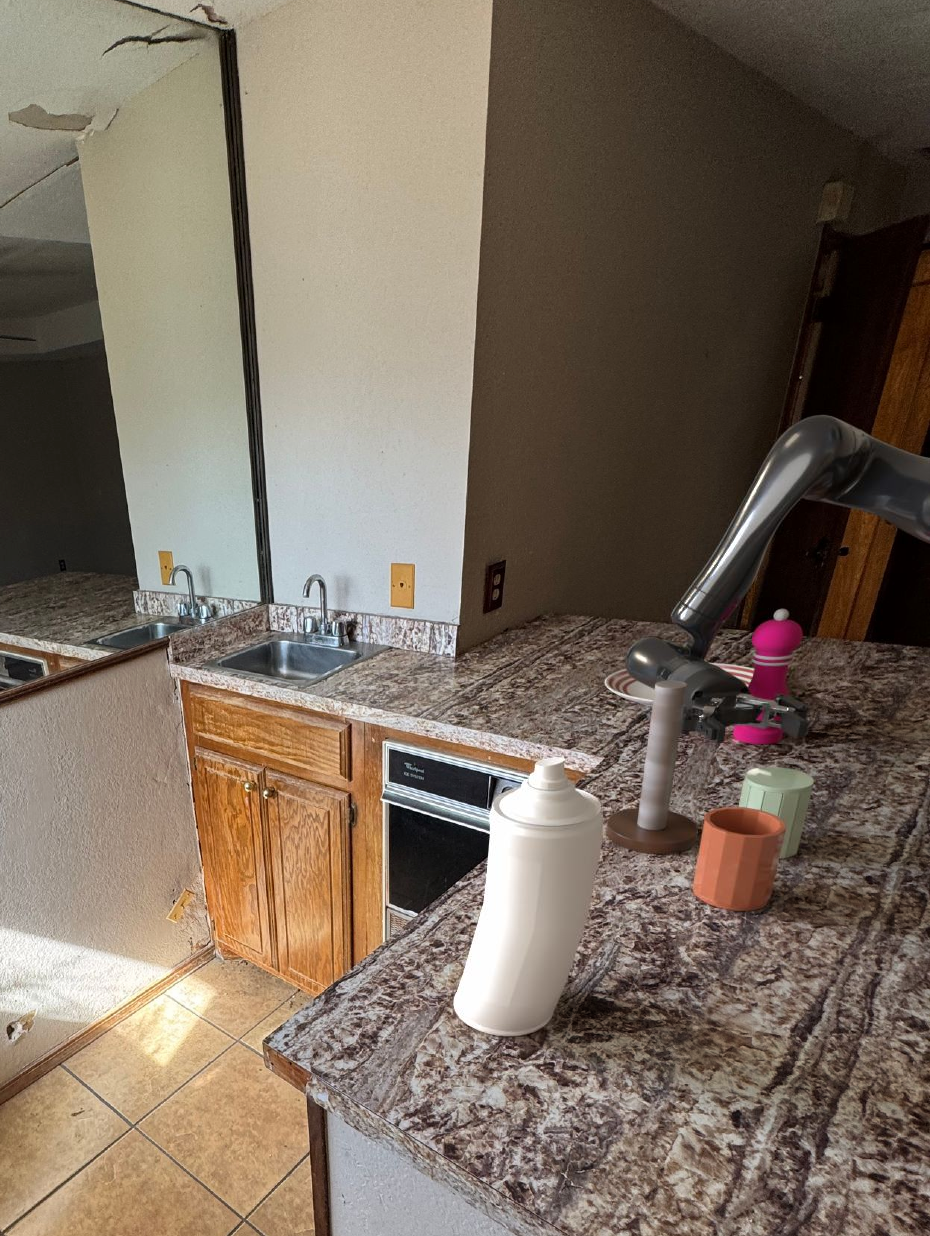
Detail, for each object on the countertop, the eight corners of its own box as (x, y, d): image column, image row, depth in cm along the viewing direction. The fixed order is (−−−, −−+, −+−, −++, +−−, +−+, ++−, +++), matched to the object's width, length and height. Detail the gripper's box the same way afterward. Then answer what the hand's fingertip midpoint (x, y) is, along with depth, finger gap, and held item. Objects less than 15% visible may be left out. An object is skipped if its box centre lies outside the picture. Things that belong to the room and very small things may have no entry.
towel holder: (647, 811, 100) (666, 667, 91) (715, 839, 91) (744, 683, 83) (588, 830, 98) (603, 684, 89) (653, 862, 89) (676, 703, 80)
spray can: (489, 952, 78) (497, 730, 67) (596, 986, 71) (625, 745, 60) (439, 1015, 71) (438, 777, 60) (553, 1060, 64) (577, 800, 53)
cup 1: (758, 828, 92) (772, 762, 89) (810, 849, 87) (828, 779, 83) (719, 842, 91) (731, 775, 87) (770, 864, 85) (786, 793, 81)
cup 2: (723, 870, 85) (736, 801, 81) (785, 899, 79) (803, 825, 75) (676, 888, 84) (688, 817, 80) (737, 918, 77) (752, 843, 74)
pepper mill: (773, 749, 112) (801, 616, 103) (720, 740, 117) (743, 612, 108) (793, 735, 115) (822, 605, 106) (741, 726, 120) (764, 602, 112)
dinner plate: (596, 677, 152) (597, 661, 150) (754, 672, 142) (758, 655, 141) (612, 723, 129) (614, 705, 128) (801, 720, 119) (806, 701, 118)
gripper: (652, 672, 103) (700, 708, 88) (768, 662, 100) (836, 698, 85) (646, 723, 106) (691, 766, 92) (758, 715, 103) (822, 758, 89)
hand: (761, 733), depth 89 cm, fingers open, 8 cm apart
